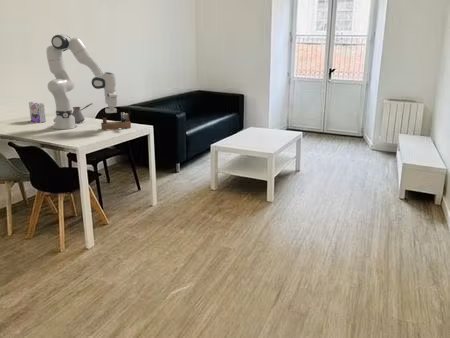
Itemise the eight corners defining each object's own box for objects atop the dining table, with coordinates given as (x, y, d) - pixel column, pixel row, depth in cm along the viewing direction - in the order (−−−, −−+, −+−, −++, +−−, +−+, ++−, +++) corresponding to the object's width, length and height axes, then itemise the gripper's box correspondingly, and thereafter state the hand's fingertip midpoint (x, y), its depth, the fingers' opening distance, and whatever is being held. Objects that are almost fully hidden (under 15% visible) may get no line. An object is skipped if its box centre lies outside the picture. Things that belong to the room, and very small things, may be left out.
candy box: (30, 120, 352) (28, 101, 347) (37, 119, 356) (34, 101, 351) (39, 123, 344) (37, 103, 339) (46, 122, 349) (44, 102, 344)
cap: (105, 112, 325) (105, 107, 324) (115, 111, 329) (115, 107, 328) (106, 113, 322) (106, 108, 321) (116, 112, 326) (116, 108, 325)
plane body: (101, 128, 329) (100, 115, 325) (128, 126, 340) (127, 113, 336) (103, 130, 323) (102, 116, 320) (130, 128, 334) (130, 114, 330)
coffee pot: (75, 124, 343) (73, 106, 339) (68, 122, 350) (66, 104, 346) (97, 120, 358) (96, 103, 354) (90, 119, 366) (89, 102, 361)
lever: (124, 124, 323) (124, 113, 320) (120, 121, 333) (120, 111, 331) (128, 123, 324) (128, 113, 322) (124, 120, 335) (124, 110, 332)
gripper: (102, 91, 328) (103, 108, 332) (109, 95, 311) (110, 113, 316) (110, 91, 331) (111, 108, 335) (117, 95, 315) (118, 113, 319)
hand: (110, 110), depth 325 cm, fingers closed on cap, 4 cm apart
